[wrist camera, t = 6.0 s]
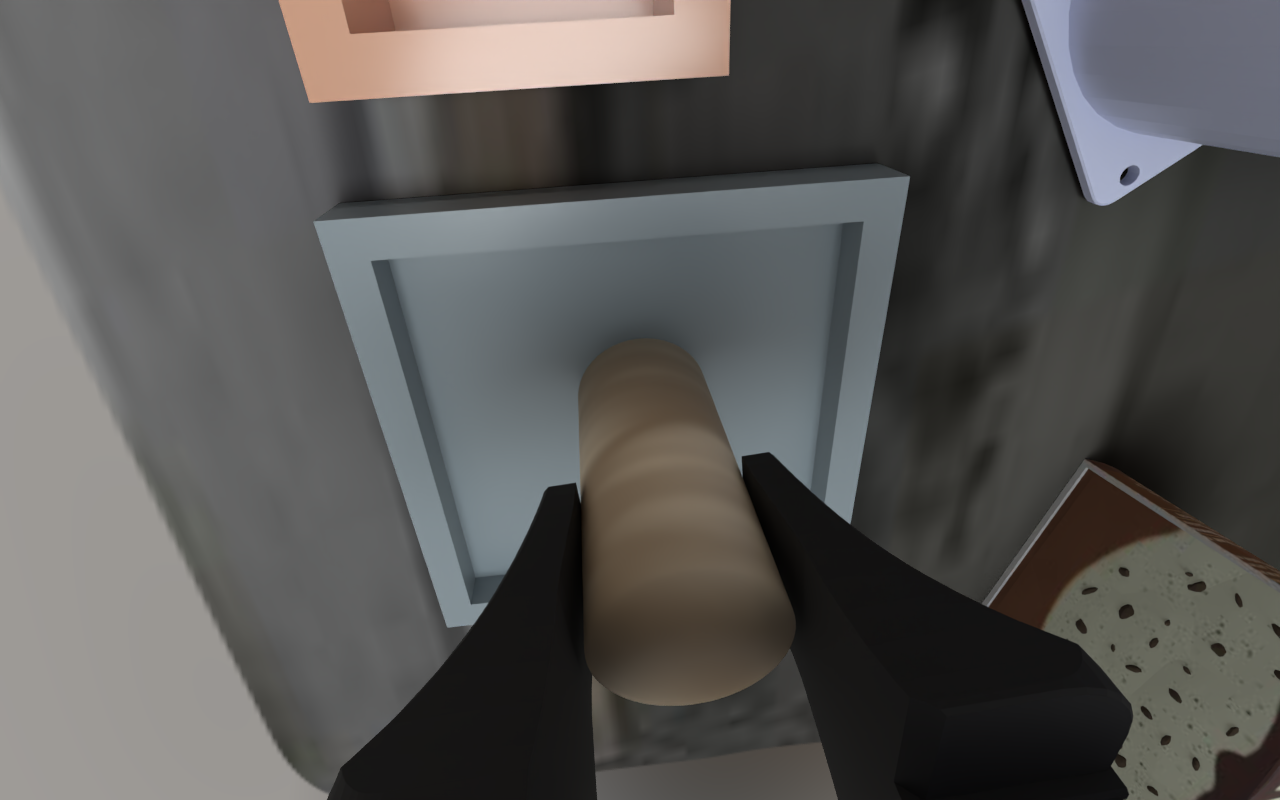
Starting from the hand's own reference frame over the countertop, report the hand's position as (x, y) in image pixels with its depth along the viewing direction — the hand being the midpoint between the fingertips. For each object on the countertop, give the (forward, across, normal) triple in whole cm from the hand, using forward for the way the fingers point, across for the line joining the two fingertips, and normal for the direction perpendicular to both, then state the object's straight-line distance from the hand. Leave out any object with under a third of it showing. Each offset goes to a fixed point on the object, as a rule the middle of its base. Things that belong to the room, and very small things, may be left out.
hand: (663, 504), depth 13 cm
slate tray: (+6, 0, +1) cm, 6 cm away
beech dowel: (+4, 0, 0) cm, 4 cm away
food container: (+6, -17, +12) cm, 22 cm away
